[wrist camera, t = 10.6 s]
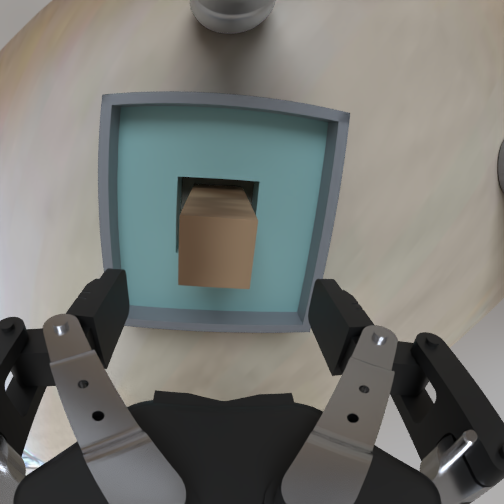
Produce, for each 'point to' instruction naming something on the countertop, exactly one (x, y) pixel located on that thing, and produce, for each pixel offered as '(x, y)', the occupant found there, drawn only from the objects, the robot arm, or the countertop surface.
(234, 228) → the peg
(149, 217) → the box
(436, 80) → the countertop surface
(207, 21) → the plastic bottle
